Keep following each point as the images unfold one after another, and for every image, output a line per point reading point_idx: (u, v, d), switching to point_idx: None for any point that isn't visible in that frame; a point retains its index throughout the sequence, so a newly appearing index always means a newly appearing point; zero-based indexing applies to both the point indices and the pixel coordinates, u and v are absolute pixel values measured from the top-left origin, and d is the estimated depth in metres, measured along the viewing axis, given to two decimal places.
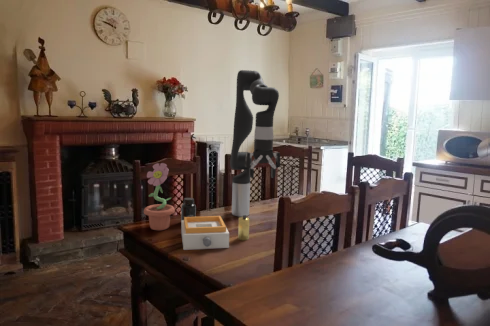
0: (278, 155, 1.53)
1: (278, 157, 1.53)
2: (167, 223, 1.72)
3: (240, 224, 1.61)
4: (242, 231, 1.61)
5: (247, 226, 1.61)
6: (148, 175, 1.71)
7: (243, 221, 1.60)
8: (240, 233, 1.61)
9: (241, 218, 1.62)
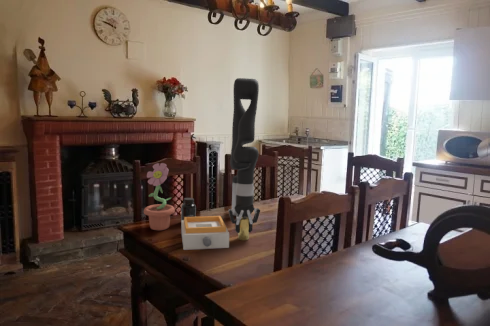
0: (258, 211, 1.62)
1: (257, 213, 1.62)
2: (167, 223, 1.72)
3: (240, 224, 1.61)
4: (242, 231, 1.61)
5: (247, 226, 1.61)
6: (148, 175, 1.71)
7: (243, 221, 1.60)
8: (240, 233, 1.61)
9: (241, 218, 1.62)
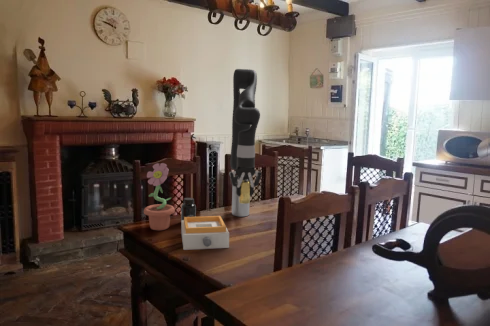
0: (259, 174, 1.59)
1: (258, 176, 1.59)
2: (167, 223, 1.72)
3: (241, 187, 1.58)
4: (243, 194, 1.58)
5: (248, 189, 1.59)
6: (148, 175, 1.71)
7: (244, 184, 1.58)
8: (241, 196, 1.59)
9: (242, 181, 1.59)
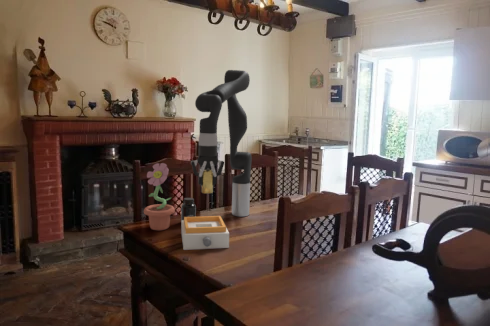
0: (222, 163, 1.55)
1: (221, 165, 1.55)
2: (167, 223, 1.72)
3: (203, 176, 1.54)
4: (205, 183, 1.54)
5: (210, 178, 1.54)
6: (148, 175, 1.71)
7: (206, 173, 1.53)
8: (203, 186, 1.54)
9: (204, 170, 1.55)
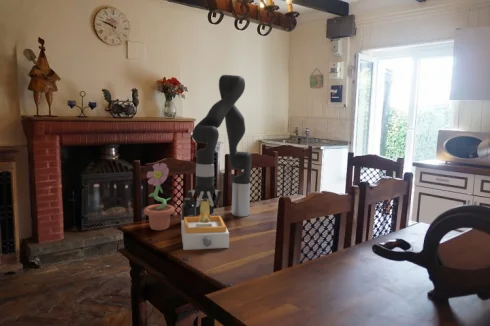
0: (219, 193, 1.57)
1: (218, 195, 1.57)
2: (167, 223, 1.72)
3: (200, 206, 1.56)
4: (202, 213, 1.56)
5: (208, 208, 1.56)
6: (148, 175, 1.71)
7: (203, 203, 1.55)
8: (200, 215, 1.56)
9: (202, 200, 1.57)
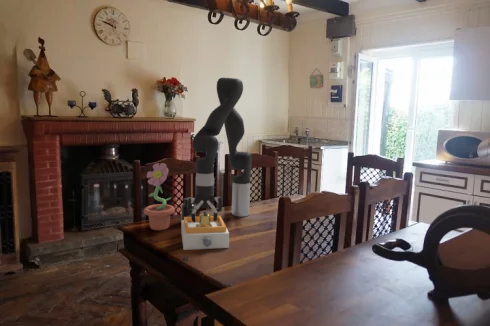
0: (219, 200, 1.57)
1: (219, 202, 1.58)
2: (167, 223, 1.72)
3: (200, 221, 1.57)
4: None
5: (208, 223, 1.57)
6: (148, 175, 1.71)
7: (203, 218, 1.56)
8: None
9: (202, 215, 1.58)
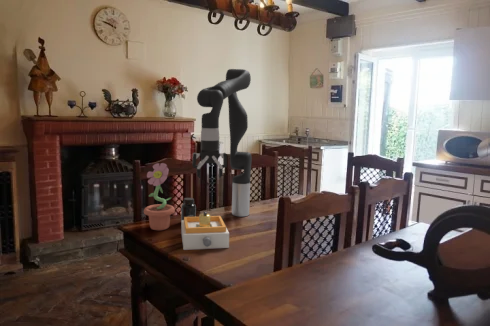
0: (224, 155, 1.57)
1: (224, 157, 1.57)
2: (167, 223, 1.72)
3: (200, 221, 1.57)
4: None
5: (208, 223, 1.57)
6: (148, 175, 1.71)
7: (203, 218, 1.56)
8: None
9: (202, 215, 1.58)
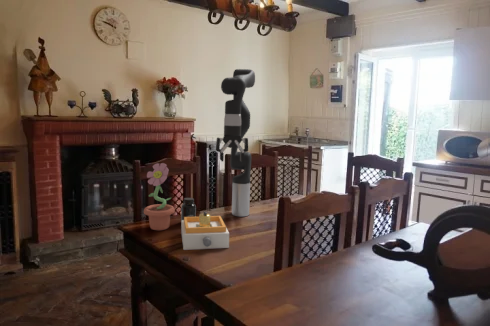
0: (246, 140, 1.67)
1: (246, 142, 1.68)
2: (167, 223, 1.72)
3: (200, 221, 1.57)
4: None
5: (208, 223, 1.57)
6: (148, 175, 1.71)
7: (203, 218, 1.56)
8: None
9: (202, 215, 1.58)
